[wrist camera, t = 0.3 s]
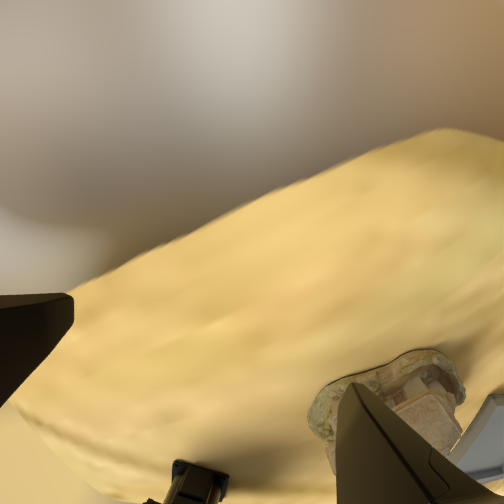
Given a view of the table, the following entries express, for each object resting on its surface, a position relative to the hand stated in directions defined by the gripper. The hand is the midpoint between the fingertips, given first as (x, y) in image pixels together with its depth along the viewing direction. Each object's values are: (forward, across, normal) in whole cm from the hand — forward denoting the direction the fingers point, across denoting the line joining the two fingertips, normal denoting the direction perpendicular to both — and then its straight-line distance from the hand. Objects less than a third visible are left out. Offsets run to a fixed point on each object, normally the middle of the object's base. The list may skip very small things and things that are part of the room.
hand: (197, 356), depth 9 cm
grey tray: (+14, -34, +15) cm, 40 cm away
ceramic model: (+15, -15, +10) cm, 23 cm away
